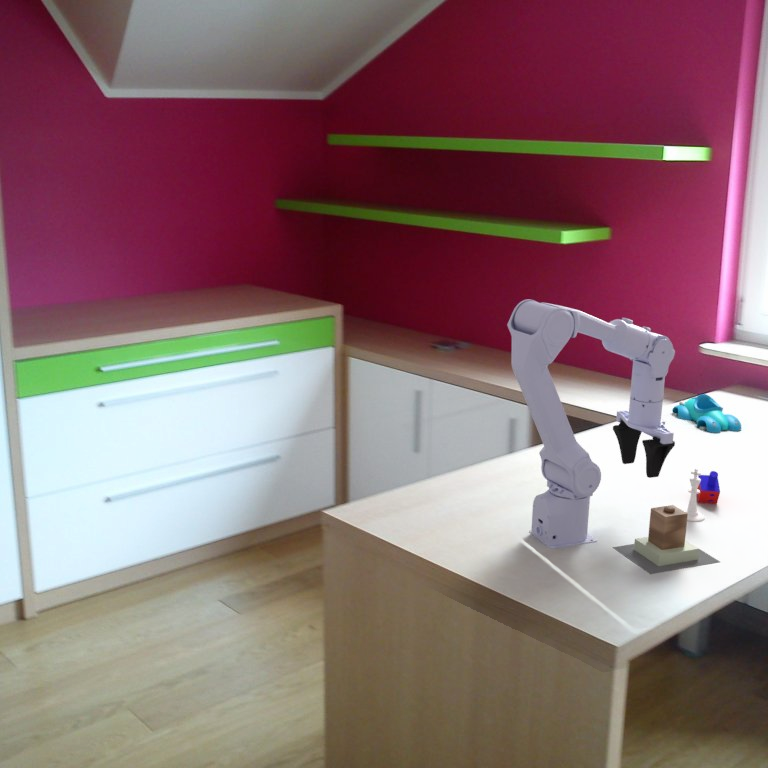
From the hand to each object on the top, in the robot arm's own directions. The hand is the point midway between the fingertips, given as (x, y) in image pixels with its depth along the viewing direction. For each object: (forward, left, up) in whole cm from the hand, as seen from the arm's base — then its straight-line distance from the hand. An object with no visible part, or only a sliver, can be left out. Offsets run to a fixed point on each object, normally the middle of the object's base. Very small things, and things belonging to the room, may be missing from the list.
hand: (640, 469), depth 181 cm
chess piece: (+11, -2, -11) cm, 15 cm away
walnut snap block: (-4, -15, -8) cm, 17 cm away
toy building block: (+20, +5, -11) cm, 23 cm away
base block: (-4, -15, -10) cm, 18 cm away
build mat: (-4, -15, -10) cm, 18 cm away
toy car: (+55, +49, -11) cm, 74 cm away
